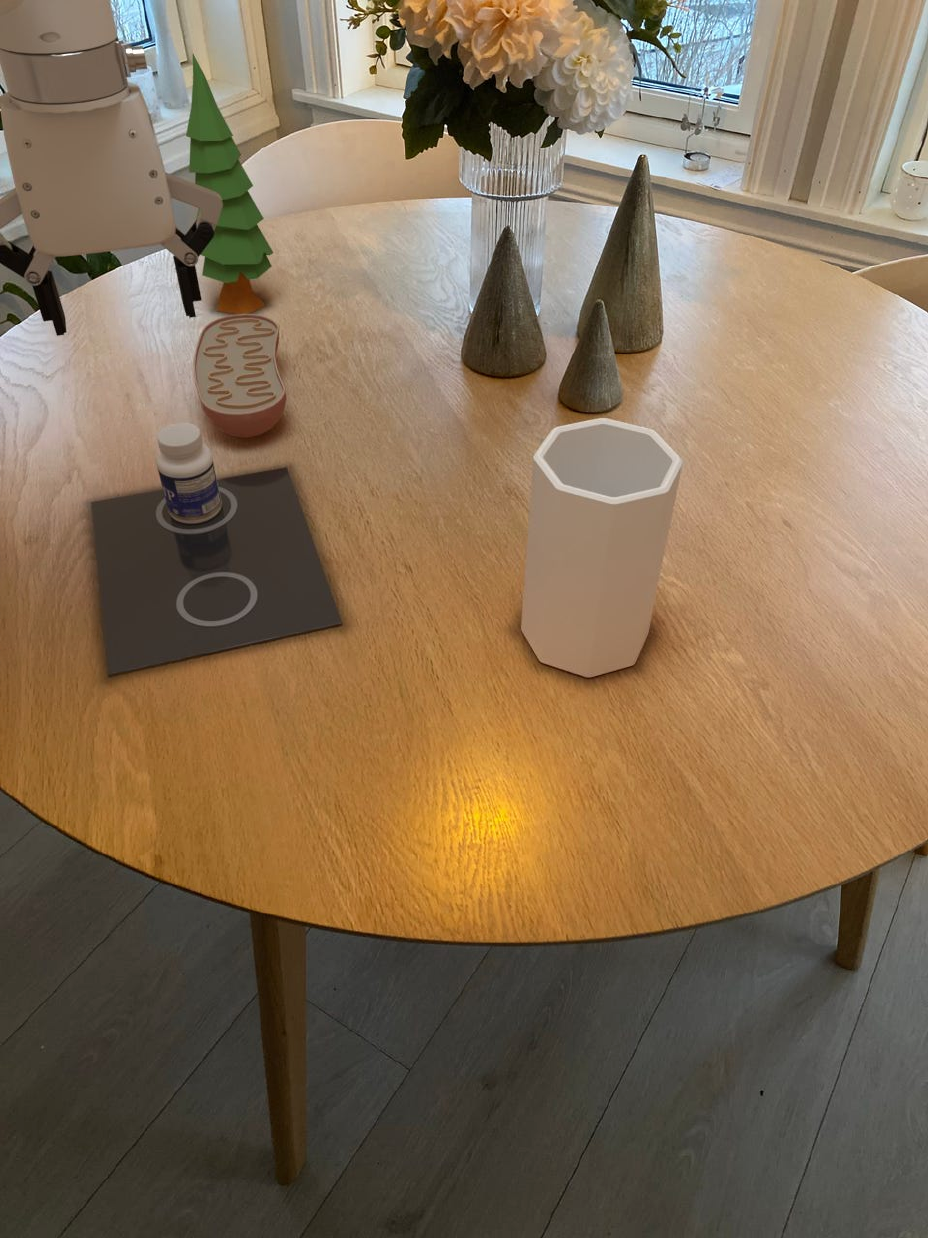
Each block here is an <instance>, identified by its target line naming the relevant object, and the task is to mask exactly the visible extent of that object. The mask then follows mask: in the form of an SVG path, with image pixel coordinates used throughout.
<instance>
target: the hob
mask: <svg viewBox="0 0 928 1238" xmlns="http://www.w3.org/2000/svg"><path fill="white" fill-rule="evenodd" d="M217 483H218V488H219V492H220V496H221V501H222V506H221V509H220V511H219V513H218V514H217V515H216V516H214V517H213V518H211V519H210V520H208V521H205V522H201V523H196V524H187V523H181V522H179V521H176V520H175V519H173V518H172V517H171V515H170V514H169V511H168V507H167V503H166V499H165V495H164V491H163V488H162V489H157V490H150V491H146V492H145V491H144V492H139V493H135V494H127V495H123V496H117V497H111V498H106V499H100V500H95V501H91V502H90V505H91V506H90V507H91V517H92V518H91V519H92V527H93V537H94V549H95V557H96V568H97V578H98V589H99V590H98V591H99V600H100V601H99V602H100V610H101V611H100V612H101V621H102V631H103V640H104V641H103V643H104V652H105V660H106V661H105V662H106V671H107V677H114V676H118V675H123V674H128V673H132V672H137V671H140V670H141V671H142V670H146V669H149V668H155V667H159V666H163V665H168V664H173V663H178V662H181V661H186V660H191V659H195V658H199V657H205V656H209V655H213V654H218V653H222V652H227V651H232V650H235V649H241V648H245V647H250V646H254V645H258V644H263V643H268V642H272V641H277V640H282V639H285V638H291V637H294V636H295V637H296V636H299V635H304V634H309V633H312V632H317V631H321V630H322V631H323V630H327V629H331V628H335V627H339V626H343V621H342V619H341V615H340V612H339V609H338V607H337V604H336V602H335V598H334V596H333V593H332V590H331V588H330V584H329V581H328V579H327V576H326V573H325V570H324V568H323V564H322V562H321V559H320V555H319V553H318V550H317V548H316V545H315V542H314V539H313V536H312V534H311V531H310V527H309V525H308V523H307V520H306V517H305V513H304V510H303V508H302V506H301V502H300V500H299V497H298V494H297V491H296V489H295V486H294V483H293V480H292V478H291V474H290V471H289V469H288V467H287V466H285V467H279V468H273V469H268V470H262V471H257V472H251V473H246V474H241V475H234V476H229V477H223V478H217Z"/></svg>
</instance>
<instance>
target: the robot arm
mask: <svg viewBox="0 0 928 1238" xmlns="http://www.w3.org/2000/svg"><path fill="white" fill-rule="evenodd" d="M0 68H1V71H2V75H3V78H4V82H5V85H6V89H7V92H4V93H3V94H1V95H0V117H1V118H0V119H1V124H2V131H3V138H4V141H5V146H6V151H7V156H8V161H9V167H10V170H11V174H12V178H13V182H14V183H13V184H14V188H13V189H12V190H10V191H9V192H8V193H6V194H5V195H3V196H2V197H0V230H2V229H3V228H4V227H5V226H7V225H8V224H10V223H12V221H14V220H16V219H17V218H18V217H20V216H21V215H22V218H23V221H24V225H25V229H26V232H27V235H28V238H29V239H30V242H31V246H30V248H29V249H28V251H26V250H24V249H22V248H21V247H19V246H17V245H16V244H15V243H13V242H11V241H10V240H7V239H6V237H5V236H4V234H3V233H2V232H0V264H1V265H2V266H4V267H5V268H7V269H9V270H10V271H12V272H13V273H14V274H16V275H18V276H20V277H21V278H22V279H24V280H25V282H26V283H27V284H28V285H29V286H32V290H33V293H34V296H35V299H36V302H37V306H38V308H39V311H40V316H41V318H42V321H43V322H52V325H53V328H54V331H55V335H56V336H57V337H60V336H65V334H67V322H66V315H65V311H64V307H63V304H62V300H61V298H60V297H61V296H60V294H59V290H58V287H57V283H56V281H55V277H54V274H53V271H52V270H49V269H51V266H52V264H53V263H54V261H55V260H56V258H57V257H70V256H71V257H72V256H80V255H89V254H90V255H91V254H99V253H108V252H115V251H123V250H124V251H125V250H131V249H141V248H148V247H153V246H158V245H160V246H162V247H164V248H165V249H166V250H167V251H168V252H169V253H171V254H172V255H173V256H172V259H173V264H174V267H175V273H176V277H177V283H178V288H179V293H180V299H181V302H182V306H183V309H184V313H185V316H186V317H188V318H196V317H197V315H196V310H195V309H196V308H195V304H194V302H201V301H202V294H201V289H200V283H199V278H198V273H197V267H196V265H197V264H198V262H199V257H200V256H201V255H200V254H201V253H202V252H203V250H204V249H205V248H206V246H207V245H208V244H209V242H210V241H211V240H212V238H213V237H214V230H215V227H216V225H217V223H218V220H219V217H220V214H221V211H222V208H223V202H222V199H221V197H220V195H219V194H218V193H217V192H215V191H212V190H210V189H207V188H204V187H202V186H199V185H197V184H195V182H192V181H189V180H186V179H184V178H182V177H179V176H176V175H173V174H170V173H168V172H166V169H165V165H164V161H163V157H162V153H161V149H160V146H159V141H158V137H157V134H156V130H155V127H154V125H153V124H154V123H153V120H152V117H151V115H150V112H149V108H148V105H147V103H146V100H145V97H144V95H143V93H142V90H141V88H140V86H139V85H138V84H136V83H134V82H130V81H128V78H132V75H131V74H132V73H137V71H141V70H148V65H147V59H146V55H145V50H144V46H143V45H138V46H137V45H136V46H132V44H125V41H124V40H119V37H118V30H117V26H116V22H115V17H114V11H113V6H112V3H111V0H0ZM173 199H174V200H177V201H179V202H181V203H185V204H187V205H190V206H192V207H195V208H198V209H200V211H199V215H198V219H197V218H196V219H197V220H196V219H195V221H194V223H193V224H192V225H191V227H190V228H189V229H188V231H187V232H186V233H185V232H184V231H183V230H182V229H181V228H180V227H178V226H177V225H176V217H175V211H174V210H175V209H174V205H173Z"/></svg>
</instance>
